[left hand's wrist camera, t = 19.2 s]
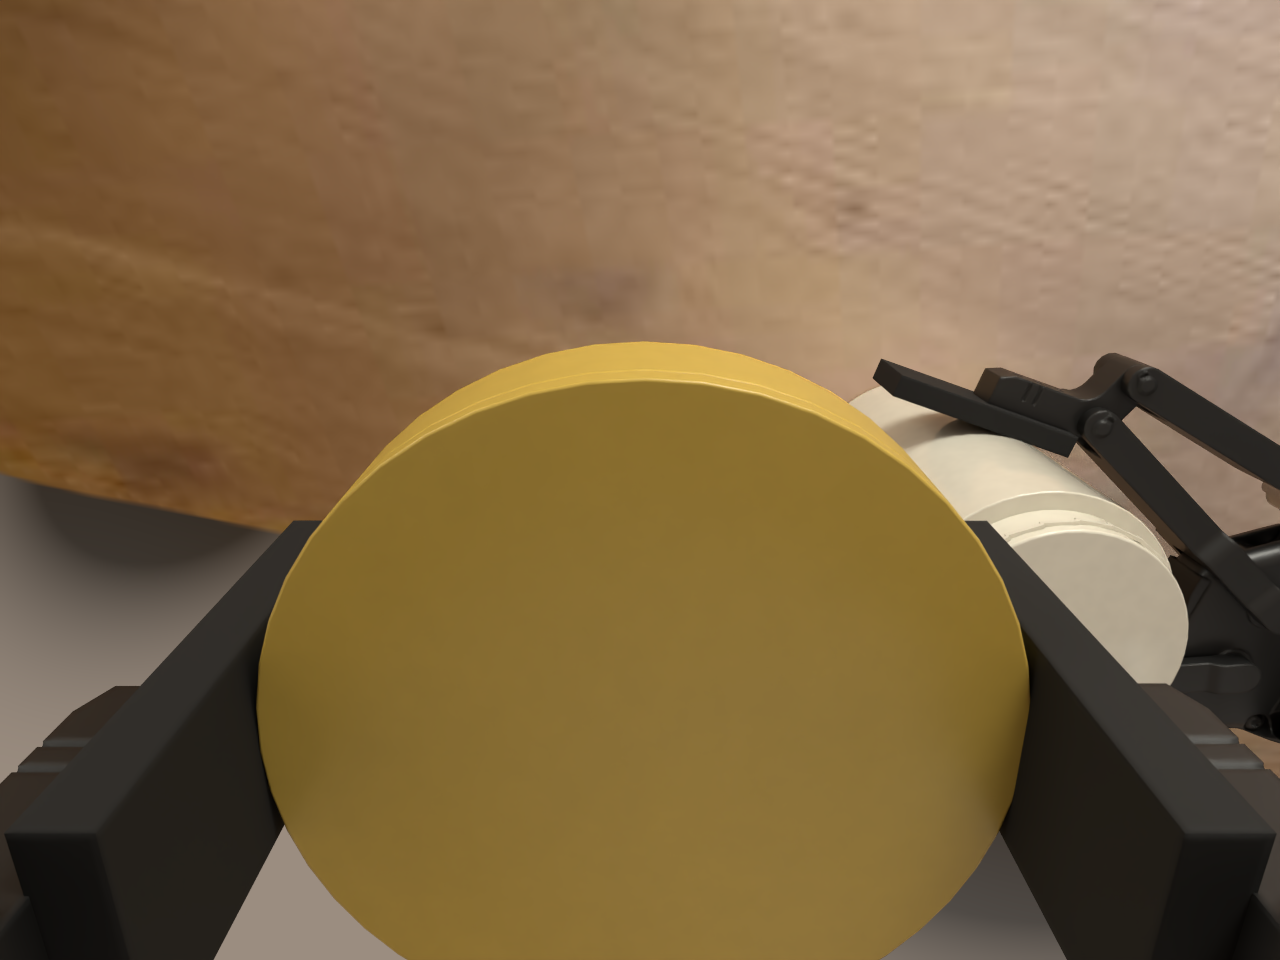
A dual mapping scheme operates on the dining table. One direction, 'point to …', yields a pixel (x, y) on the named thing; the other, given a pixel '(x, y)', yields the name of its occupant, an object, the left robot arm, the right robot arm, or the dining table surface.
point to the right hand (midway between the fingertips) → (836, 491)
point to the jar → (1052, 531)
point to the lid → (643, 673)
